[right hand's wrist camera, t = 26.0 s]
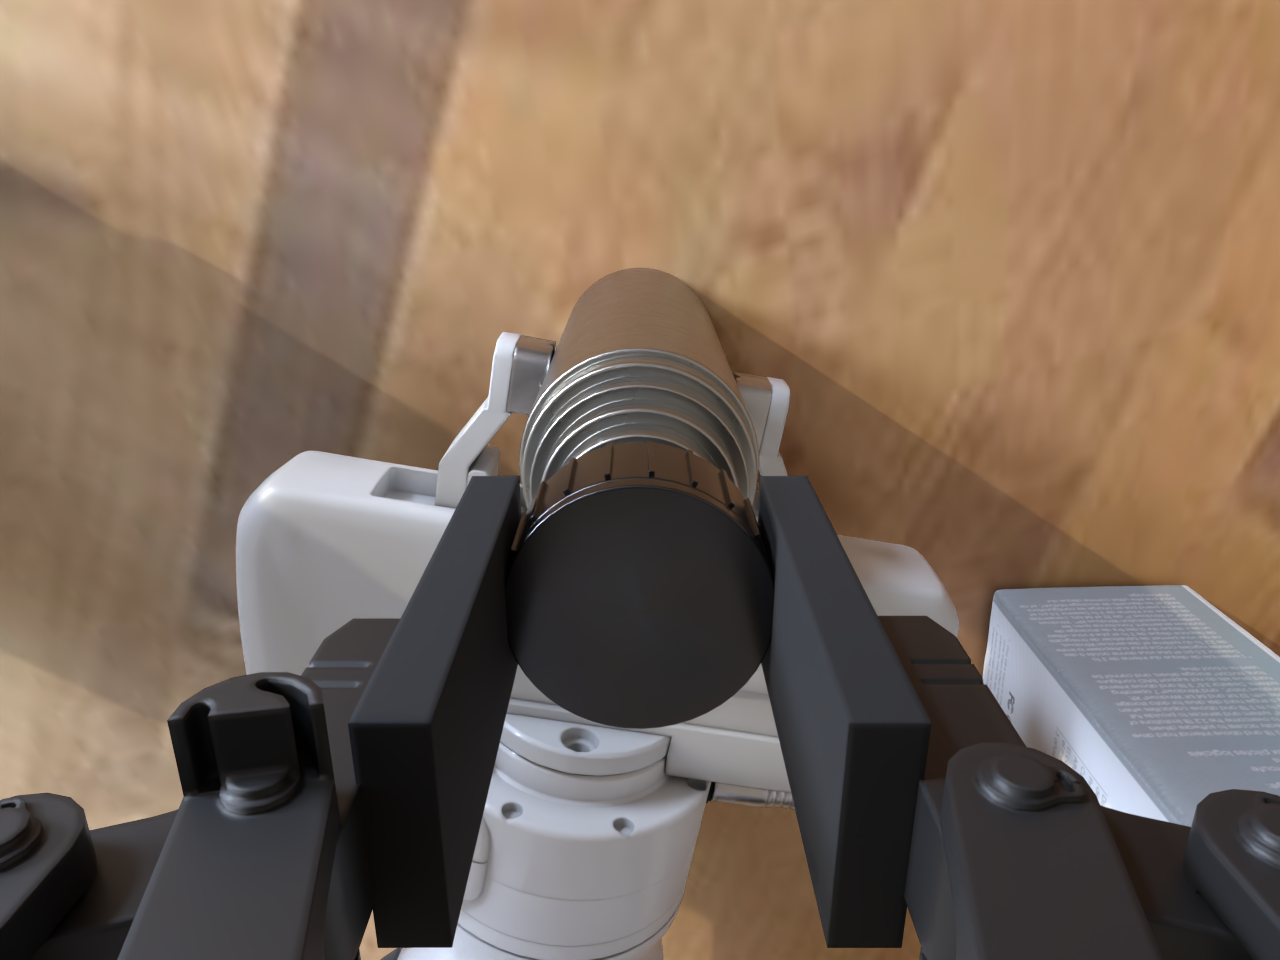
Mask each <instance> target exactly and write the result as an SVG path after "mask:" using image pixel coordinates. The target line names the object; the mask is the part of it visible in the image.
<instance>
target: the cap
mask: <svg viewBox="0 0 1280 960" xmlns="http://www.w3.org/2000/svg"><path fill="white" fill-rule="evenodd" d="M761 538H762V536H761V533H760V530H759V526H758V523H757V520H756V517H755V514H754V510H753V507H752V504H751V501H750V499H749V498H746V499H745V498H744V496H743V495H742V493H741V492H740V491H739V489H738V488H737V487H736V485H735V484H734V483H733V482H732V481H731V480H730V479H729V478H728V476H727V472H726V471H725V470H724V469H722V470H721V471H720V470H719V469H718V468H716V467H715V466H714V465H712V464H711V463H709V462H707V461H706V460H704V459H703V458H701V457H699V456H697V455H694V454H693V451H692V450H689V449H688V450H687V451H685V450H682V449H679V448H676V447H672V446H668V445H662V444H657V443H653V441H649V440H648V443H643V442H634V443H621V444H616V445H613V444H612V443H609V444H607V446H606V447H603V448H600V449H597V450H594V451H591V452H588V453H586V454H584V455H582V456H580V457H578V458H576V459H575V457H573V458H571V459H570V460H569V463H568V464H567V465H565V466H564V467H562V468H561V469H560V470H558V471H557V472H556V473H555V474H554V475H553V476H552V477H550V478H549V479H548V481H547V482H546V483H545V482H544V481H542V482H541V484H540V486H539V489H538V493H537V494H536V496H535V497H534V499H533V500H532V502H531V504H530V506H529V508H528V510H527V512H526V513H523V512H522V514H521V517H520V520H519V523H518V526H517V529H516V533H515V536H514V539H513V542H512V545H511V548H510V551H509V554H511V555H513V556H512V559H511V562H510V565H509V569H508V572H507V575H506V579H505V603H506V620H507V636H508V644H509V647H510V649H511V651H512V653H513V656H514V658H515V660H516V662H517V663H518V665H519V666H520V668H521V669H522V671H523V672H524V674H525V675H526V676H527V678H528V679H529V680H530V681H531V682H532V683H533V685H534V686H535V687H536V688H537V689H538V690H539V691H541V692H542V693H543V694H544V695H545V696H546V697H547V698H549V699H550V700H551V701H553V702H554V703H556V704H557V705H559V706H560V707H561V708H563V709H565V710H567V711H569V712H571V713H573V714H575V715H577V716H579V717H582V718H584V719H587V720H589V721H592V722H596V723H599V724H603V725H607V726H613V727H620V728H630V729H648V728H660V727H665V726H671V725H676V724H679V723H683V722H686V721H689V720H692V719H695V718H697V717H699V716H701V715H704V714H706V713H708V712H710V711H711V710H713V709H715V708H717V707H718V706H720V705H722V704H723V703H724V702H726V701H727V700H728V699H730V698H731V697H732V696H734V695H735V694H736V693H737V692H738V691H739V690H740V689H741V688H742V687H743V686H744V685H745V684H746V683H747V682H748V681H749V679H750V678H751V677H752V676H753V674H754V673H755V672H756V670H757V669H758V667H759V665H760V664H761V662H762V660H763V659H764V657H765V655H766V653H767V650H768V648H769V646H770V643H771V639H772V626H773V609H774V591H775V585H774V579H773V576H772V573H771V569H770V566H769V563H768V559H767V556H766V553H765V550H764V546H763V543H762V540H761Z"/></svg>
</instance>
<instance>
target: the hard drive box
mask: <svg viewBox="0 0 1280 960" xmlns="http://www.w3.org/2000/svg"><path fill="white" fill-rule="evenodd" d="M983 683H984V684H986V685H987V686H988V687H989V689H990V691H991V692H992V694H993V695H994V697H995V698H996V700H997V701H998V703H999V705H1000V706H1001V708H1002V709H1003V711H1004V712H1005V714H1006V716H1007V717H1008V719H1009V720H1010V722H1011V723H1012V725H1013V726H1014V728H1015V730H1016V731H1017V733H1018V734H1019V736H1020V737H1021V739H1022V740H1023V742H1024V744H1025V745H1026V747H1029V748H1033V749H1036V750H1039V751H1041V752H1043V753H1045V754H1048V755H1050V756H1052V757H1054V758H1057V759H1059V760H1061V761H1063V762H1064V763H1065V764H1067V765H1068V766H1069V767H1071V768H1072V769H1073V770H1075V771H1076V772H1077V773H1079V774H1080V775H1081V776H1083V777H1084V779H1085V780H1086V782H1087V783H1088V784H1089V786H1090V787H1091V789H1092V790H1093V792H1094V793H1095V794H1096V796H1097V798H1098V801H1099V803H1100V805H1101V806H1104V807H1107V808H1111V809H1114V810H1118V811H1121V812H1125V813H1128V814H1133V815H1138V816H1142V817H1147V818H1152V819H1156V820H1161V821H1166V822H1170V823H1175V824H1180V825H1184V826H1189V827H1191V825H1192V822H1193V818H1194V814H1195V810H1196V807H1197V804H1199V803H1200V802H1201V801H1202V800H1203V799H1204V798H1205V797H1206V796H1208V795H1209V794H1210V793H1214V792H1220V791H1225V790H1230V789H1240V790H1251V791H1261V792H1266V793H1270V794H1274V795H1279V796H1280V657H1279V656H1278V655H1277V654H1275V653H1274V652H1273V651H1271V650H1270V649H1269V648H1268V647H1266V646H1265V645H1264V644H1262V643H1261V642H1260V641H1258V640H1257V639H1256V638H1255V637H1253V636H1252V635H1251V634H1250V633H1248V632H1247V631H1246V630H1244V629H1243V628H1242V627H1240V626H1239V625H1238V624H1236V623H1235V622H1234V621H1233V620H1231V619H1230V618H1229V617H1227V616H1226V615H1225V614H1223V613H1222V612H1221V611H1220V610H1218V609H1217V608H1216V607H1214V606H1213V605H1212V604H1210V603H1209V602H1208V601H1207V600H1205V599H1204V598H1203V597H1201V596H1200V595H1199V594H1198V593H1196V592H1195V591H1194V590H1192V589H1191V588H1190V587H1188V586H1186V585H1154V586H1101V587H1056V588H1027V589H1002V590H997V591H996V592H995V594H994V597H993V603H992V611H991V618H990V627H989V636H988V644H987V650H986V655H985V661H984V670H983Z"/></svg>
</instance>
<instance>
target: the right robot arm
mask: <svg viewBox="0 0 1280 960" xmlns="http://www.w3.org/2000/svg"><path fill="white" fill-rule="evenodd" d="M520 517H521V496H520V476H472V477H471V479H470V481H469V483H468V485H467V487H466V489H465V491H464V493H463V495H462V497H461V499H460V501H459V503H458V505H457V507H456V509H455V511H454V513H453V515H452V517H451V519H450V521H449V523H448V525H447V527H446V529H445V531H444V533H443V535H442V537H441V539H440V541H439V543H438V545H437V547H436V549H435V551H434V553H433V555H432V557H431V559H430V561H429V563H428V565H427V567H426V569H425V571H424V573H423V575H422V577H421V579H420V581H419V583H418V585H417V587H416V589H415V591H414V593H413V595H412V597H411V599H410V601H409V603H408V605H407V607H406V609H405V611H404V613H403V615H402V617H401V618H353V619H352V620H350V621H349V622H347V623H346V624H345V625H343V626H342V627H340V628H339V629H338V630H336V631H335V632H333V633H332V634H331V635H329V636H328V637H326V638H325V639H324V640H323V642H322V643H321V645H320V646H319V648H318V650H317V651H316V653H315V654H314V656H313V657H312V659H311V661H310V662H309V667H306V668H305V670H304V672H303V673H302V675H301V676H300V675H296V674H292V673H289V672H259V673H254V674H249V675H244V676H239V677H234V678H230V679H228V680H225V681H222V682H220V683H217V684H215V685H212V686H210V687H207V688H204V689H203V690H201V691H200V692H198V693H197V694H195V695H194V696H192V697H190V698H189V699H187V700H186V701H184V702H183V703H181V704H180V706H179V707H178V708H177V709H176V711H175V712H174V713H173V714H172V715H171V717H170V718H169V719H168V720H167V721H168V726H169V730H170V735H171V740H172V744H173V749H174V753H175V758H176V762H177V767H178V772H179V776H180V781H181V785H182V790H183V795H184V798H183V800H182V802H181V805H180V807H179V809H178V810H175V811H172V812H168V813H165V814H161V815H158V816H154V817H151V818H146V819H141V820H137V821H132V822H127V823H123V824H118V825H113V826H109V827H104V828H100V829H95V830H90V831H89V828H88V824H87V821H86V817H85V813H84V809H83V808H82V807H81V806H80V805H78V804H77V803H76V802H75V801H74V800H73V799H72V798H71V797H66V796H61V795H56V794H51V793H40V794H29V795H19V796H14V797H11V798H6V799H2V800H1V801H0V960H361V958H360V952H359V947H360V944H361V941H362V938H363V935H364V932H365V929H366V926H367V924H368V921H369V918H370V915H371V912H372V909H373V914H374V922H375V929H376V937H377V944H378V948H452V946H453V941H454V937H455V933H456V928H457V924H458V920H459V916H460V911H461V907H462V903H463V898H464V894H465V890H466V885H467V881H468V877H469V873H470V868H471V864H472V860H473V855H474V851H475V847H476V843H477V838H478V834H479V830H480V825H481V821H482V817H483V813H484V808H485V804H486V800H487V795H488V791H489V787H490V782H491V778H492V774H493V770H494V765H495V761H496V757H497V752H498V748H499V744H500V740H501V735H502V731H503V727H504V722H505V718H506V714H507V710H508V705H509V701H510V697H511V692H512V688H513V684H514V679H515V675H516V671H517V667H518V663H517V662H516V660H515V658H514V656H513V653H512V651H511V649H510V647H509V644H508V636H507V620H506V603H505V579H506V575H507V572H508V569H509V565H510V562H511V559H512V556H513V555H511V554H509V551H510V548H511V545H512V542H513V539H514V536H515V533H516V529H517V526H518V523H519V520H520ZM758 526H759V530H760V533H761V536H762V538H761V540H762V543H763V546H764V550H765V553H766V556H767V559H768V563H769V566H770V569H771V573H772V576H773V579H774V585H775V591H774V609H773V626H772V639H771V643H770V646H769V648H768V650H767V653H766V655H765V657H764V659H763V660H762V662H761V665H762V669H763V673H764V678H765V682H766V686H767V690H768V695H769V699H770V703H771V708H772V712H773V716H774V720H775V725H776V729H777V733H778V738H779V742H780V746H781V750H782V755H783V759H784V763H785V768H786V772H787V776H788V781H789V785H790V789H791V793H792V798H793V802H794V806H795V811H796V815H797V819H798V823H799V828H800V832H801V836H802V841H803V845H804V849H805V854H806V858H807V862H808V866H809V871H810V875H811V879H812V884H813V888H814V892H815V896H816V901H817V905H818V909H819V914H820V918H821V922H822V927H823V931H824V935H825V939H826V944H827V948H901V947H902V940H903V932H904V925H905V918H906V910H907V907H908V909H909V912H910V915H911V918H912V921H913V924H914V927H915V929H916V932H917V935H918V938H919V941H920V944H921V952H920V958H919V960H1280V796H1279V795H1274V794H1270V793H1266V792H1261V791H1251V790H1240V789H1230V790H1225V791H1220V792H1214V793H1210V794H1209V795H1208V796H1206V797H1205V798H1204V799H1203V800H1202V801H1201V802H1200V803H1199V804H1197V807H1196V810H1195V814H1194V818H1193V822H1192V825H1191V827H1189V826H1184V825H1180V824H1175V823H1170V822H1166V821H1161V820H1156V819H1152V818H1147V817H1142V816H1138V815H1133V814H1128V813H1125V812H1121V811H1118V810H1114V809H1111V808H1107V807H1104V806H1101V805H1100V803H1099V801H1098V798H1097V796H1096V794H1095V793H1094V792H1093V790H1092V789H1091V787H1090V786H1089V784H1088V783H1087V782H1086V780H1085V779H1084V777H1083V776H1081V775H1080V774H1079V773H1077V772H1076V771H1075V770H1073V769H1072V768H1071V767H1069V766H1068V765H1067V764H1065V763H1064V762H1063V761H1061V760H1059V759H1057V758H1054V757H1052V756H1050V755H1048V754H1045V753H1043V752H1041V751H1039V750H1036V749H1033V748H1029V747H1026V745H1025V744H1024V742H1023V740H1022V739H1021V737H1020V736H1019V734H1018V733H1017V731H1016V730H1015V728H1014V726H1013V725H1012V723H1011V722H1010V720H1009V719H1008V717H1007V716H1006V714H1005V712H1004V711H1003V709H1002V708H1001V706H1000V705H999V703H998V701H997V700H996V698H995V697H994V695H993V694H992V692H991V691H990V689H989V687H988V686H987V685H986V684H984V683H983V678H982V677H981V675H980V673H979V672H978V670H977V669H976V667H975V666H974V664H971V659H970V658H969V656H968V655H967V653H966V652H965V650H964V648H963V647H962V645H961V644H960V642H959V641H958V639H957V638H956V636H955V635H953V634H952V633H951V632H949V631H948V630H946V629H945V628H943V627H942V626H941V625H939V624H938V623H936V622H935V621H933V620H932V619H931V618H929V617H928V616H877V614H876V612H875V610H874V608H873V606H872V604H871V602H870V600H869V598H868V596H867V594H866V592H865V590H864V588H863V586H862V584H861V582H860V580H859V578H858V576H857V574H856V572H855V570H854V568H853V566H852V564H851V562H850V560H849V558H848V556H847V554H846V552H845V550H844V548H843V546H842V544H841V542H840V540H839V538H838V536H837V534H836V532H835V530H834V528H833V526H832V524H831V522H830V520H829V518H828V516H827V514H826V512H825V510H824V508H823V506H822V504H821V502H820V500H819V498H818V496H817V494H816V492H815V490H814V488H813V487H812V485H811V483H810V481H809V479H808V477H807V476H760V484H759V505H758Z"/></svg>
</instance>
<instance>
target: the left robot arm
mask: <svg viewBox="0 0 1280 960" xmlns="http://www.w3.org/2000/svg"><path fill="white" fill-rule="evenodd" d="M555 346H556V341H550V340H545V339H540V338H534V337H529V336H524V335H520V334H513V333H506V332H503V333H502V334H501V336H500V337H499V338H498V340H497V344H496V348H495V353H494V357H493V365H492V373H491V382H490V390H489V396H488V398H487V399H486V400H485V401H484V403H483V404H482V405H481V406H480V408H479V409H478V410H477V411H476V413H475V414H474V415H473V417H472V418H471V419H470V420H469V422H468V423H467V424H466V425H465V427H464V428H463V429H462V430H461V432H460V433H459V434H458V435H457V437H456V438H455V439H454V441H453V442H452V444H451V445H450V447H449V449H448V450H447V452H446V453H445V455H444V456H443V458H442V460H441V461H440V463H439V468H438V470H432V469H426V468H419V467H413V466H407V465H401V464H394V463H388V462H382V461H376V460H369V459H363V458H357V457H351V456H345V455H339V454H333V453H326V452H320V451H305V452H302V453H300V454H298V455H296V456H295V457H294V458H292V459H291V460H290V461H288V462H287V463H286V464H284V465H283V466H282V467H280V468H279V469H278V470H276V471H275V472H274V473H272V474H271V475H270V476H269V477H268V478H266V479H265V480H264V481H263V482H262V483H261V485H260V486H259V487H258V488H257V489H256V490H255V491H254V492H253V493H252V494H251V495H250V497H249V498H248V499H247V501H246V502H245V504H244V506H243V508H242V510H241V512H240V515H239V518H238V523H237V534H236V585H237V601H238V613H239V624H240V633H241V641H242V648H243V656H244V662H245V668H246V673H247V675H249V674H254V673H259V672H289V673H292V674H296V675H300V676H301V675H302V673H303V672H304V670H305V668H306V667H309V662H310V661H311V659H312V657H313V656H314V654H315V653H316V651H317V650H318V648H319V646H320V645H321V643H322V642H323V640H324V639H325V638H326V637H328V636H329V635H331V634H332V633H333V632H335V631H336V630H338V629H339V628H340V627H342V626H343V625H345V624H346V623H347V622H349V621H350V620H352V619H353V618H401V617H402V615H403V613H404V611H405V609H406V607H407V605H408V603H409V601H410V599H411V597H412V595H413V593H414V591H415V589H416V587H417V585H418V583H419V581H420V579H421V577H422V575H423V573H424V571H425V569H426V567H427V565H428V563H429V561H430V559H431V557H432V555H433V553H434V551H435V549H436V547H437V545H438V543H439V541H440V539H441V537H442V535H443V533H444V531H445V529H446V527H447V525H448V523H449V521H450V519H451V517H452V515H453V513H454V511H455V509H456V507H457V505H458V503H459V501H460V499H461V497H462V495H463V493H464V491H465V489H466V487H467V485H468V483H469V481H470V479H471V477H472V476H498V469H499V460H500V451H499V449H498V448H495V447H490V446H486V445H487V444H488V442H489V441H490V440H491V439H492V437H493V436H494V435H495V434H496V432H497V431H498V430H499V428H500V427H501V426H502V425H503V423H504V422H505V421H506V420H507V418H508V417H509V416H510V415H511V413H519V414H526V415H530V413H531V410H532V408H533V405H534V403H535V400H536V398H537V395H538V393H539V391H540V388H541V386H542V383H543V381H544V378H545V376H546V373H547V371H548V368H549V366H550V364H551V361H552V359H553V356H554V354H555ZM732 373H733V376H734V378H735V381H736V383H737V385H738V388H739V390H740V393H741V395H742V398H743V400H744V403H745V405H746V408H747V410H748V413H749V415H750V418H751V420H752V423H753V426H754V429H755V432H756V436H757V442H758V447H759V473H760V476H788V475H787V472H786V469H785V466H784V463H783V460H782V457H781V455H780V452H779V447H780V443H781V439H782V434H783V430H784V426H785V422H786V417H787V413H788V409H789V405H790V388H789V387H788V385H787V384H786V382H785V380H783V379H777V378H771V377H766V376H759V375H753V374H746V373H740V372H734V371H733V372H732ZM520 496H521V514H522V512H523V513H526V512H527V510H528V508H527V504H526V501H525V497H524V494H523V487H522V484H520ZM758 505H759V490H756V493H755V497H754V501H753V505H752V507H753V510H754V514H755V517H756V520H757V523H758ZM837 536H838V538H839V540H840V542H841V544H842V546H843V548H844V550H845V552H846V554H847V556H848V558H849V560H850V562H851V564H852V566H853V568H854V570H855V572H856V574H857V576H858V578H859V580H860V582H861V584H862V586H863V588H864V590H865V592H866V594H867V596H868V598H869V600H870V602H871V604H872V606H873V608H874V610H875V612H876V614H877V616H928V617H929V618H931V619H932V620H933V621H935V622H936V623H938V624H939V625H941V626H942V627H943V628H945V629H946V630H948V631H949V632H951V633H952V634H953V635H955V636H956V638H957V635H958V630H959V618H958V614H957V611H956V608H955V606H954V603H953V601H952V599H951V597H950V595H949V593H948V592H947V590H946V588H945V586H944V584H943V583H942V581H941V580H940V578H939V577H938V575H937V574H936V572H935V571H934V570H933V569H932V567H931V566H930V565H929V563H928V562H927V561H926V560H925V558H924V557H923V556H922V555H921V554H920V553H919V552H918V551H917V550H915V549H914V548H912V547H909V546H905V545H900V544H894V543H887V542H881V541H875V540H869V539H862V538H856V537H850V536H844V535H837ZM708 801H712V802H719V803H727V804H734V805H741V806H748V807H759V808H763V807H765V808H772V807H773V808H780V807H781V808H784V809H788V808H789V809H792V810H795V806H794V802H793V798H792V793H791V789H790V785H789V781H788V776H787V772H786V768H785V763H784V759H783V755H782V750H781V746H780V742H779V738H778V733H777V729H776V725H775V720H774V716H773V712H772V708H771V703H770V699H769V695H768V690H767V686H766V682H765V678H764V673H763V669H762V665H761V664H760V665H759V667H758V669H757V670H756V672H755V673H754V674H753V676H752V677H751V678H750V679H749V681H748V682H747V683H746V684H745V685H744V686H743V687H742V688H741V689H740V690H739V691H738V692H737V693H736V694H735V695H734V696H732V697H731V698H730V699H728V700H727V701H726V702H724V703H723V704H722V705H720V706H718V707H717V708H715V709H713V710H711V711H710V712H708V713H706V714H704V715H701V716H699V717H697V718H695V719H692V720H689V721H686V722H683V723H679V724H676V725H671V726H665V727H660V728H648V729H630V728H620V727H613V726H607V725H603V724H599V723H596V722H592V721H589V720H587V719H584V718H582V717H579V716H577V715H575V714H573V713H571V712H569V711H567V710H565V709H563V708H561V707H560V706H559V705H557V704H556V703H554V702H553V701H551V700H550V699H549V698H547V697H546V696H545V695H544V694H543V693H542V692H541V691H539V690H538V689H537V688H536V687H535V686H534V685H533V683H532V682H531V681H530V680H529V679H528V678H527V676H526V675H525V674H524V672H523V671H522V669H521V668H520V666H519V665H518V667H517V671H516V675H515V679H514V684H513V688H512V692H511V697H510V701H509V705H508V710H507V714H506V718H505V722H504V727H503V731H502V735H501V740H500V744H499V748H498V752H497V757H496V761H495V765H494V770H493V774H492V778H491V782H490V787H489V791H488V795H487V800H486V804H485V808H484V813H483V817H482V821H481V825H480V830H479V834H478V838H477V843H476V847H475V851H474V855H473V860H472V864H471V868H470V873H469V877H468V881H467V885H466V890H465V894H464V898H463V903H462V907H461V911H460V916H459V920H458V924H457V928H456V933H455V937H454V941H453V946H452V948H407V949H403V948H397V949H395V950H394V951H392V952H391V953H389V954H388V955H386V956H385V957H383V958H382V959H381V960H663V945H662V939H661V938H662V937H663V936H664V934H665V933H666V932H667V930H668V928H669V927H670V925H671V923H672V922H673V920H674V918H675V916H676V914H677V912H678V909H679V906H680V904H681V901H682V898H683V895H684V891H685V886H686V882H687V878H688V874H689V870H690V866H691V862H692V858H693V854H694V850H695V846H696V842H697V837H698V833H699V830H700V826H701V822H702V818H703V813H704V809H705V805H706V803H708Z"/></svg>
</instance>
